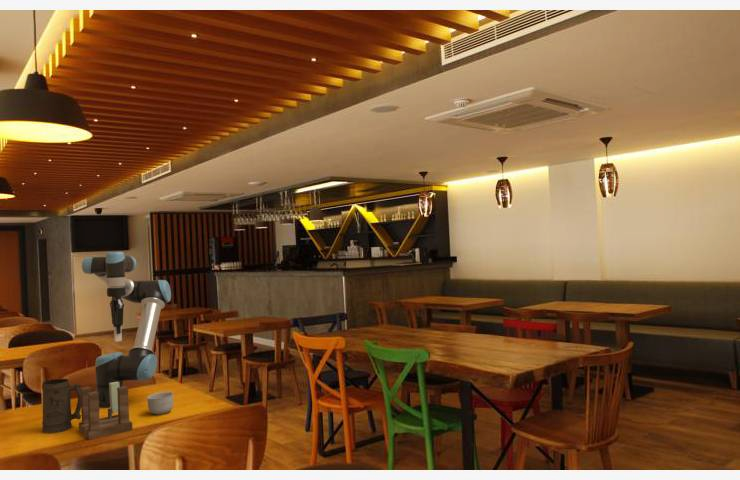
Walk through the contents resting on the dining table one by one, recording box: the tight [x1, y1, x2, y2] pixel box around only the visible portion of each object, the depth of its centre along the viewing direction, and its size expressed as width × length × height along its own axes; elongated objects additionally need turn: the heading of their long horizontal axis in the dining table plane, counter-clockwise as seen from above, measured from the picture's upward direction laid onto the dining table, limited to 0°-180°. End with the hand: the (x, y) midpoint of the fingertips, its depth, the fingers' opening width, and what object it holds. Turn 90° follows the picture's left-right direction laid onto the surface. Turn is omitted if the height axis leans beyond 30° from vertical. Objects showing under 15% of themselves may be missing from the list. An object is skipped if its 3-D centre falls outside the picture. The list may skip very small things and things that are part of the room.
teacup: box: [146, 391, 174, 416], centre depth 254 cm, size 14×11×8 cm
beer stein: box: [41, 378, 82, 434], centre depth 236 cm, size 15×11×20 cm
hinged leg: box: [109, 382, 120, 414], centre depth 239 cm, size 3×3×12 cm
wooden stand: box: [78, 385, 133, 441], centre depth 231 cm, size 16×16×17 cm
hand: (118, 340), depth 252 cm, fingers closed
